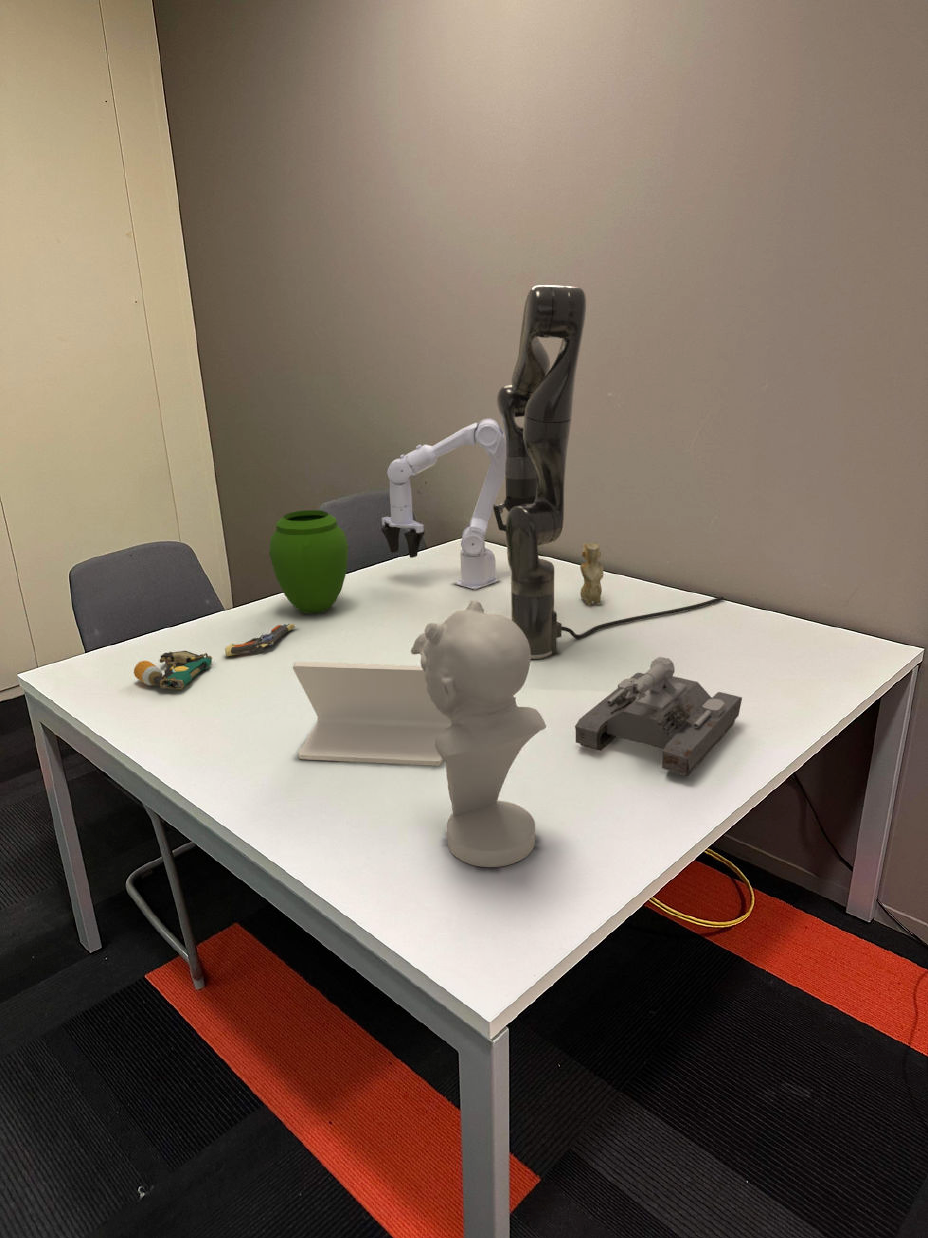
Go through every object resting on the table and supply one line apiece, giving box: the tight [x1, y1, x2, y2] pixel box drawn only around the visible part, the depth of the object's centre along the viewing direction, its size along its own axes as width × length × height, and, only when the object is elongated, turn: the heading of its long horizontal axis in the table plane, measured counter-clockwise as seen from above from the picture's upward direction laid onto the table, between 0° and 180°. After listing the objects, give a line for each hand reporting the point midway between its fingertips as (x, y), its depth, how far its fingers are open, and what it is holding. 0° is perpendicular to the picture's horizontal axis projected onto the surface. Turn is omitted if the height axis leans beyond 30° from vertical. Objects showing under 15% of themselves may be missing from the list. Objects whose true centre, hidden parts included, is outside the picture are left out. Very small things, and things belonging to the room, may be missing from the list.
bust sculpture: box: [410, 599, 547, 868], centre depth 121 cm, size 16×24×35 cm
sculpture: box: [579, 542, 604, 605], centre depth 214 cm, size 6×7×15 cm
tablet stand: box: [292, 661, 451, 766], centre depth 150 cm, size 18×25×17 cm
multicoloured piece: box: [133, 650, 213, 690], centre depth 180 cm, size 4×17×15 cm
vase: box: [268, 509, 349, 615], centre depth 213 cm, size 20×20×24 cm
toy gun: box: [224, 623, 296, 657], centre depth 196 cm, size 3×19×10 cm
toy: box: [574, 656, 743, 777], centre depth 148 cm, size 25×20×15 cm
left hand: (403, 554), depth 231 cm, fingers open, 7 cm apart
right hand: (522, 546), depth 201 cm, fingers closed on can, 5 cm apart
